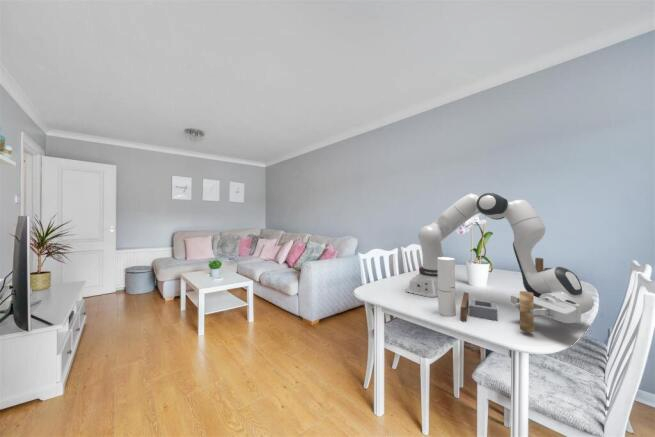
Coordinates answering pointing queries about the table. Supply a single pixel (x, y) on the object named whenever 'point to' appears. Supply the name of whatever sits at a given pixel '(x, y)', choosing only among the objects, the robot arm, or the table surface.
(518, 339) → the table surface
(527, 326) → the brown wooden tall bar
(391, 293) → the table surface
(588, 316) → the table surface
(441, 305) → the cylindrical container
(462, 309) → the rail
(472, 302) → the socket block
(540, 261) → the wooden block
